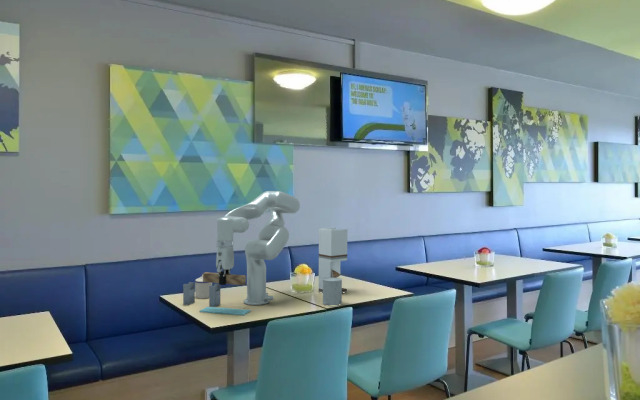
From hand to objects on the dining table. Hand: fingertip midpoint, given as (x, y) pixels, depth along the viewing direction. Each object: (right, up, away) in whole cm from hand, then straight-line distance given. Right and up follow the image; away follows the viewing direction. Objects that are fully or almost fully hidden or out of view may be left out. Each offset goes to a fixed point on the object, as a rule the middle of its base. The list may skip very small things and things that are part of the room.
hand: (224, 283), depth 233 cm
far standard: (-21, -13, +16) cm, 29 cm away
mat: (0, -13, +1) cm, 13 cm away
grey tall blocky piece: (+51, -12, +44) cm, 69 cm away
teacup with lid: (-17, -12, +32) cm, 39 cm away
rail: (0, 0, 0) cm, 0 cm away
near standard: (-7, -13, +13) cm, 19 cm away
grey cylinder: (+50, -13, +17) cm, 55 cm away
